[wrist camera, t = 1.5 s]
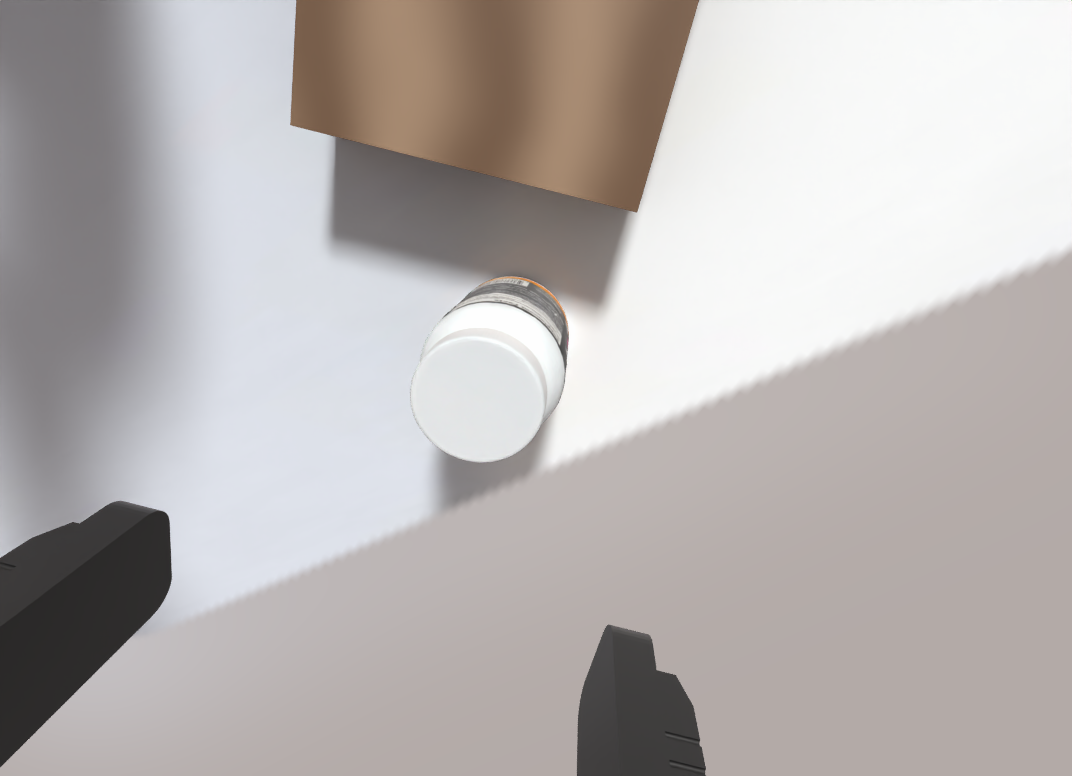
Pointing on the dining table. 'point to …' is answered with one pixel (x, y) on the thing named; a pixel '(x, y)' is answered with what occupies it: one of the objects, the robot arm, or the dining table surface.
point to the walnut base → (498, 84)
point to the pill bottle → (492, 370)
